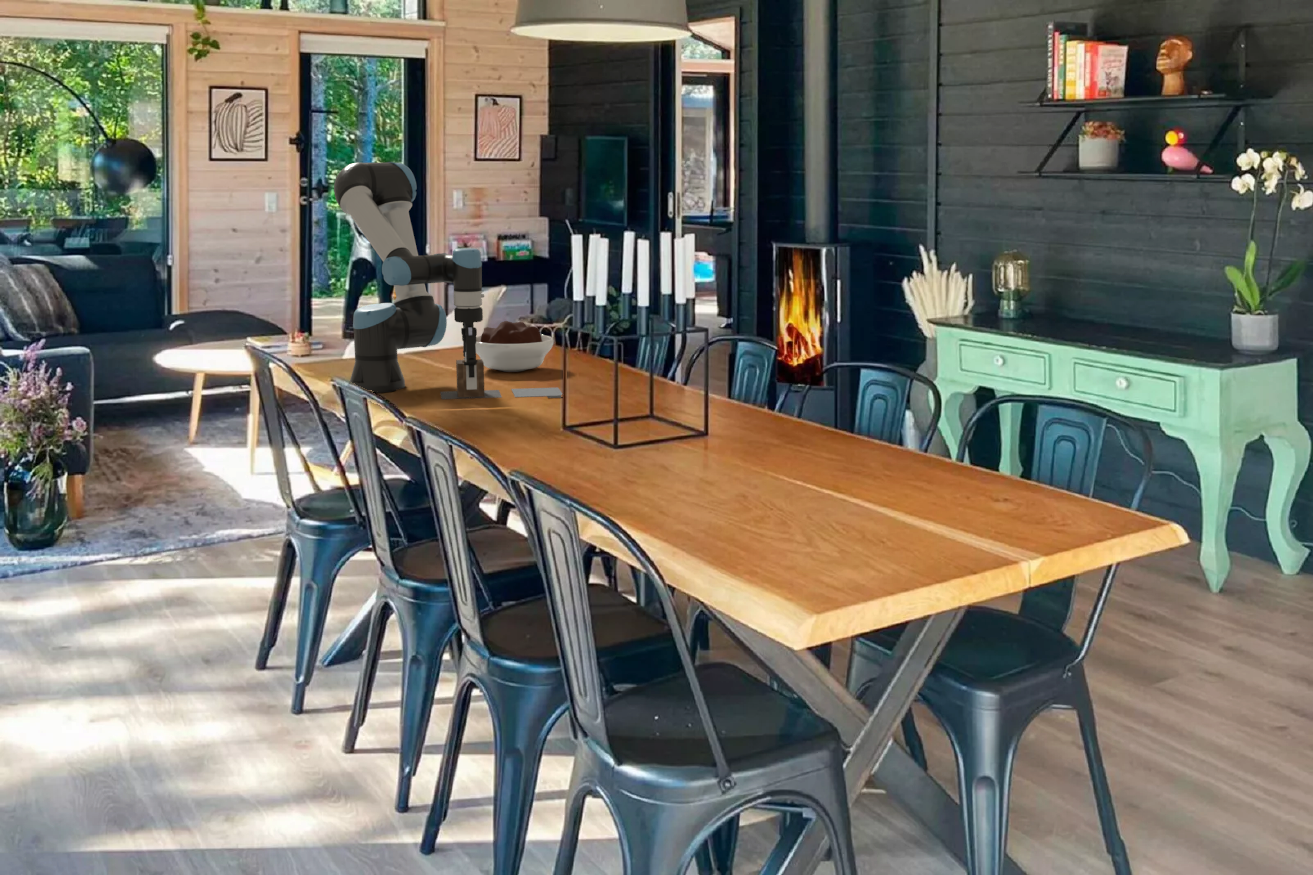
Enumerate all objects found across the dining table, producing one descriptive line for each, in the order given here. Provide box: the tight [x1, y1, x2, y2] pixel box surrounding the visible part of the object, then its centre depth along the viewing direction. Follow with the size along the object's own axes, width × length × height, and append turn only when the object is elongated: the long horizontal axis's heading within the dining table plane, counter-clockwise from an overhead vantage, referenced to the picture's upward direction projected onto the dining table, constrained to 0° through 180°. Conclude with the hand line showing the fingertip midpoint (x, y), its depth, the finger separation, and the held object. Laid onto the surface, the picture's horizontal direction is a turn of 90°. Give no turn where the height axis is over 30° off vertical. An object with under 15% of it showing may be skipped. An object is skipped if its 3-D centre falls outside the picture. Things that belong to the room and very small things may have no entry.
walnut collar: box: [455, 358, 485, 397], centre depth 382 cm, size 7×7×9 cm
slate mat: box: [511, 387, 563, 399], centre depth 386 cm, size 13×13×1 cm
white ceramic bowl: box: [475, 320, 554, 373], centre depth 427 cm, size 25×25×15 cm
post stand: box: [440, 352, 503, 400], centre depth 381 cm, size 16×12×12 cm
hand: (470, 385), depth 382 cm, fingers open, 13 cm apart
